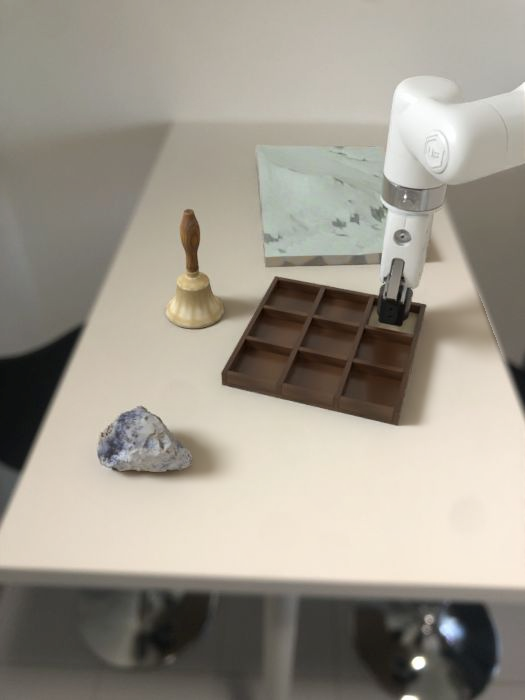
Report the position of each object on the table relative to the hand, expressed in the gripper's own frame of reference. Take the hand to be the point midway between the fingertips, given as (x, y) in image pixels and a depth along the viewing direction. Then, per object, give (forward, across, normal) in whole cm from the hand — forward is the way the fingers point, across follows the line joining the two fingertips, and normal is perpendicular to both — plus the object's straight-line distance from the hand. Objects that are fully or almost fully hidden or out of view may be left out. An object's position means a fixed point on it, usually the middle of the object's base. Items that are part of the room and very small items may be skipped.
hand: (393, 311), depth 91 cm
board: (+3, -7, +7) cm, 10 cm away
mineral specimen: (+3, -32, +22) cm, 39 cm away
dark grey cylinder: (0, 0, 0) cm, 0 cm away
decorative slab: (+3, +30, +17) cm, 35 cm away
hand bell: (+3, -5, +27) cm, 28 cm away
